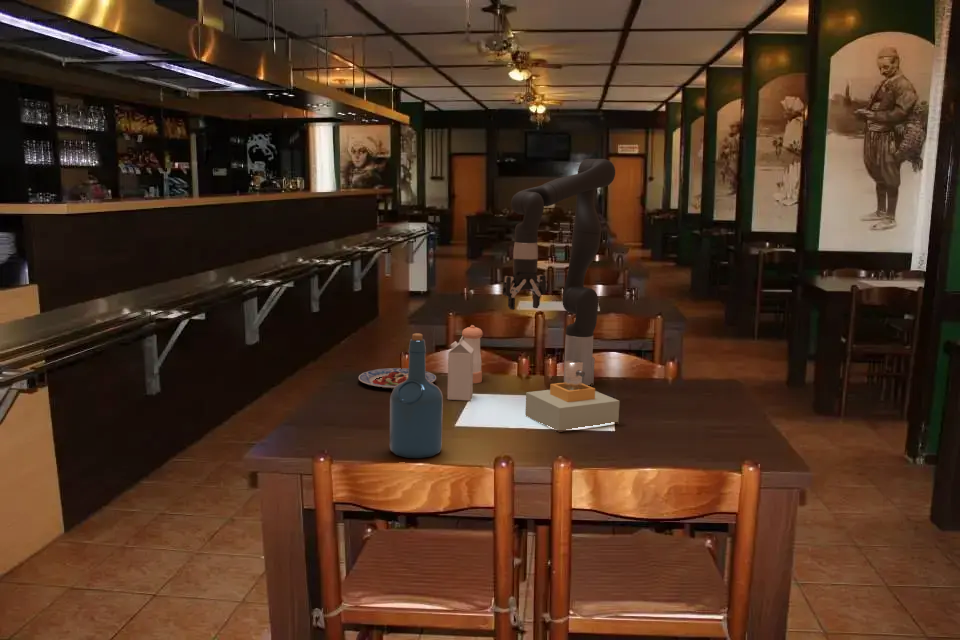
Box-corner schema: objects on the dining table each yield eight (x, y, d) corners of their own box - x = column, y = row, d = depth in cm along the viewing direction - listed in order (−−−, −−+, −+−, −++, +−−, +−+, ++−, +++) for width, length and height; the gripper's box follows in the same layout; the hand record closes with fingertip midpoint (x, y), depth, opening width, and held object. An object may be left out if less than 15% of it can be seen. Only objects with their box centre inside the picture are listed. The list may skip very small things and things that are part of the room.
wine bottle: (401, 440, 217) (402, 327, 212) (449, 446, 214) (451, 331, 208) (380, 456, 204) (381, 337, 199) (431, 463, 201) (433, 341, 196)
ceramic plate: (385, 371, 295) (385, 362, 294) (449, 380, 283) (450, 371, 283) (342, 386, 272) (342, 377, 271) (410, 397, 261) (410, 388, 260)
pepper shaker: (471, 377, 287) (473, 322, 284) (486, 381, 282) (487, 325, 279) (456, 380, 283) (457, 324, 279) (470, 384, 277) (471, 328, 274)
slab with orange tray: (580, 407, 253) (582, 375, 251) (618, 424, 237) (620, 390, 235) (523, 414, 244) (525, 381, 242) (558, 432, 227) (560, 397, 226)
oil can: (560, 395, 240) (561, 361, 238) (574, 393, 242) (576, 359, 240) (574, 401, 233) (575, 366, 232) (588, 399, 236) (590, 364, 234)
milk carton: (472, 395, 264) (474, 336, 261) (470, 401, 257) (471, 340, 254) (450, 394, 265) (451, 335, 261) (447, 400, 258) (448, 339, 254)
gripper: (538, 255, 264) (536, 305, 267) (499, 256, 257) (498, 308, 260) (551, 257, 257) (549, 309, 260) (511, 258, 251) (509, 311, 254)
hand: (523, 308), depth 260 cm, fingers open, 8 cm apart
